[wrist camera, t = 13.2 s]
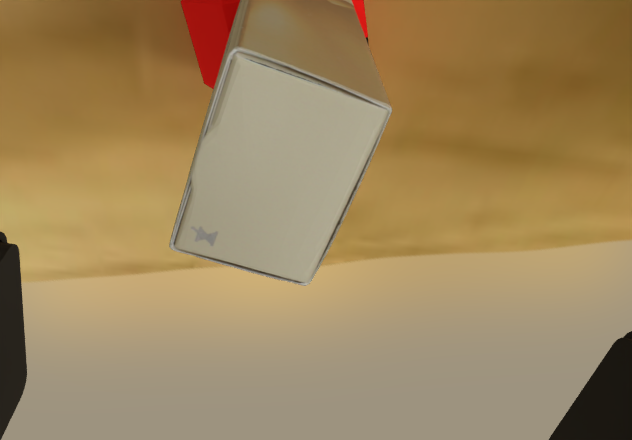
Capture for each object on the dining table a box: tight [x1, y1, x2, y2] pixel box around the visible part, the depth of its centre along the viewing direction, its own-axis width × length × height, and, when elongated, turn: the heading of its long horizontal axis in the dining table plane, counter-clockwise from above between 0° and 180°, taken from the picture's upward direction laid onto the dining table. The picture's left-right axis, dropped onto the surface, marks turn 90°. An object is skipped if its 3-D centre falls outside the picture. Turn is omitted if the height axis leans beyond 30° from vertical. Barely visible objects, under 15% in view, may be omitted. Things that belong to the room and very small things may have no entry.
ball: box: [181, 0, 369, 89], centre depth 29 cm, size 8×8×8 cm
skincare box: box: [169, 0, 392, 286], centre depth 21 cm, size 6×4×12 cm
